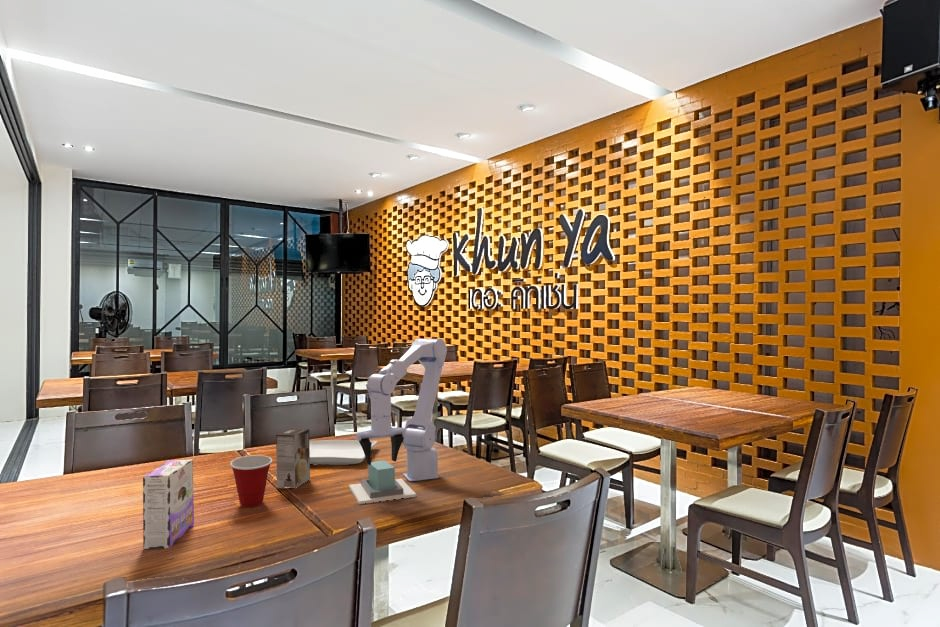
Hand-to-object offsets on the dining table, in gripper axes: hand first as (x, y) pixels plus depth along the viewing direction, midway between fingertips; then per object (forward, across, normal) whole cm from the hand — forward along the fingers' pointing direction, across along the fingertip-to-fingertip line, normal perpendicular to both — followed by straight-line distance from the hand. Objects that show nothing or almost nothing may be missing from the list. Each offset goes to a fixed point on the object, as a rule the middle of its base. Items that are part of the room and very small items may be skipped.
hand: (381, 462), depth 163 cm
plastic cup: (+9, +34, -7) cm, 36 cm away
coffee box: (+9, +21, -20) cm, 31 cm away
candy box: (+9, +54, +8) cm, 55 cm away
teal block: (+8, 0, 0) cm, 8 cm away
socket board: (+9, 0, 0) cm, 9 cm away
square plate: (+9, +3, -46) cm, 47 cm away
